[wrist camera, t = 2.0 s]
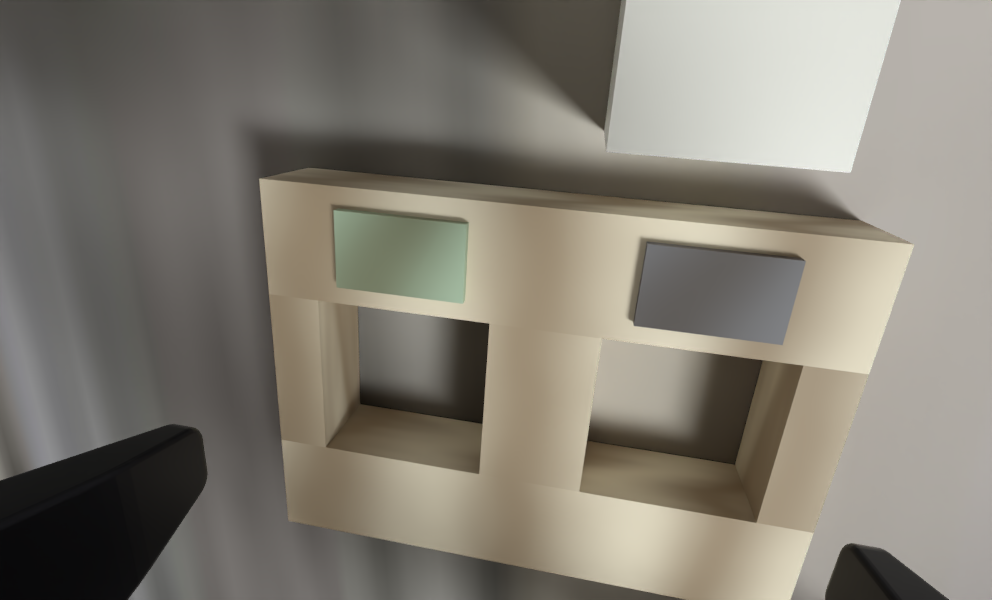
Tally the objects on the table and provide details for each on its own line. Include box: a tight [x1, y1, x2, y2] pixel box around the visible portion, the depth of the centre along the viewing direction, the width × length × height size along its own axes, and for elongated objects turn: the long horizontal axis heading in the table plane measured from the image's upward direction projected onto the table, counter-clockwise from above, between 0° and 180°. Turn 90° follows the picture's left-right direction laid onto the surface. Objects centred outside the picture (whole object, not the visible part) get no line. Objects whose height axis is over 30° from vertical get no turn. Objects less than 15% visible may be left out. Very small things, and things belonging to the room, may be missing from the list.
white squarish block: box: [604, 0, 901, 173], centre depth 12 cm, size 4×4×8 cm
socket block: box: [259, 168, 914, 600], centre depth 19 cm, size 18×13×3 cm
